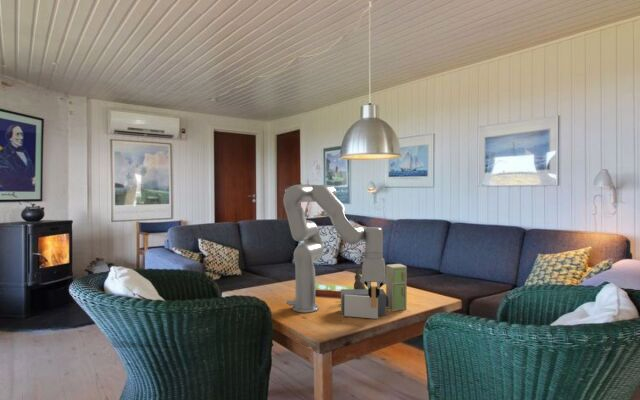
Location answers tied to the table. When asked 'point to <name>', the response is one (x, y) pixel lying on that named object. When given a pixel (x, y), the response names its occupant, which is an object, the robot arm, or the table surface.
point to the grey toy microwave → (382, 297)
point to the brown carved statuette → (358, 281)
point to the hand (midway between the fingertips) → (374, 296)
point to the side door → (361, 305)
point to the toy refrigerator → (396, 286)
